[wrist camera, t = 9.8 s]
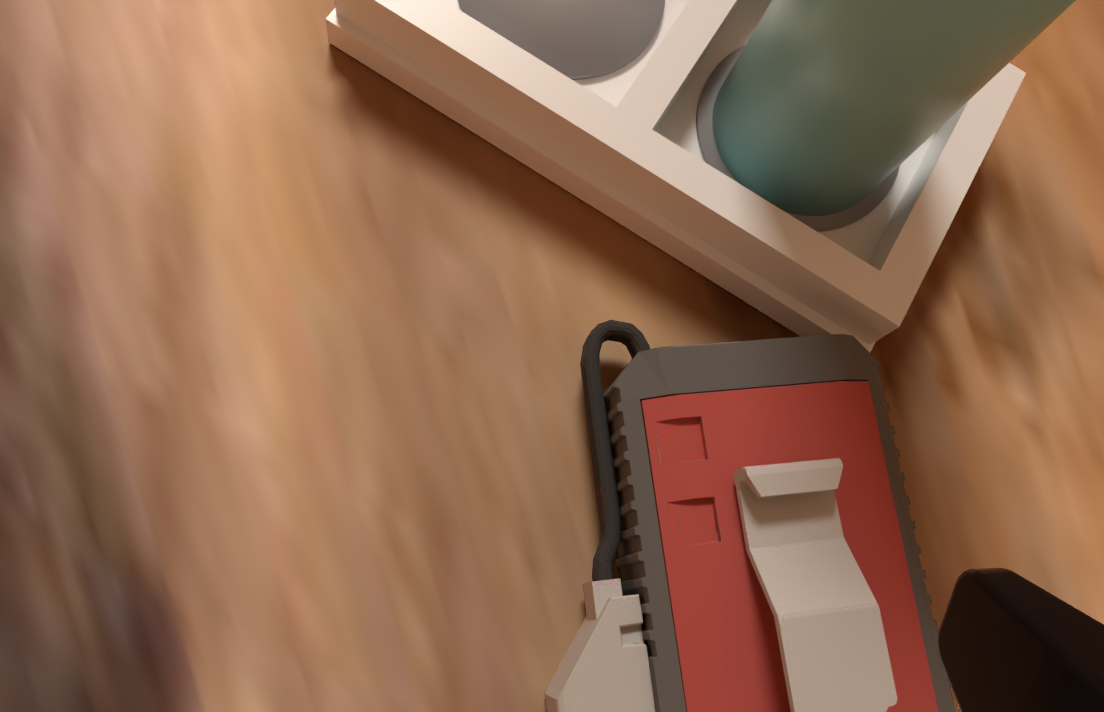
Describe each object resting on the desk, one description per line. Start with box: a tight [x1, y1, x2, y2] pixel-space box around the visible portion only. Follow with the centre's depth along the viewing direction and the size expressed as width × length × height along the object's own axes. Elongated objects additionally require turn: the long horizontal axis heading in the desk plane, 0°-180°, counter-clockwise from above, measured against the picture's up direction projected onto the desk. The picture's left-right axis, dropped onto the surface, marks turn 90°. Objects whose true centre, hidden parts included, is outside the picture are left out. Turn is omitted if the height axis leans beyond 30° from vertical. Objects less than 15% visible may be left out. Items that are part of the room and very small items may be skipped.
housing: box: [326, 0, 1026, 352], centre depth 25 cm, size 9×16×2 cm, turn 59°
